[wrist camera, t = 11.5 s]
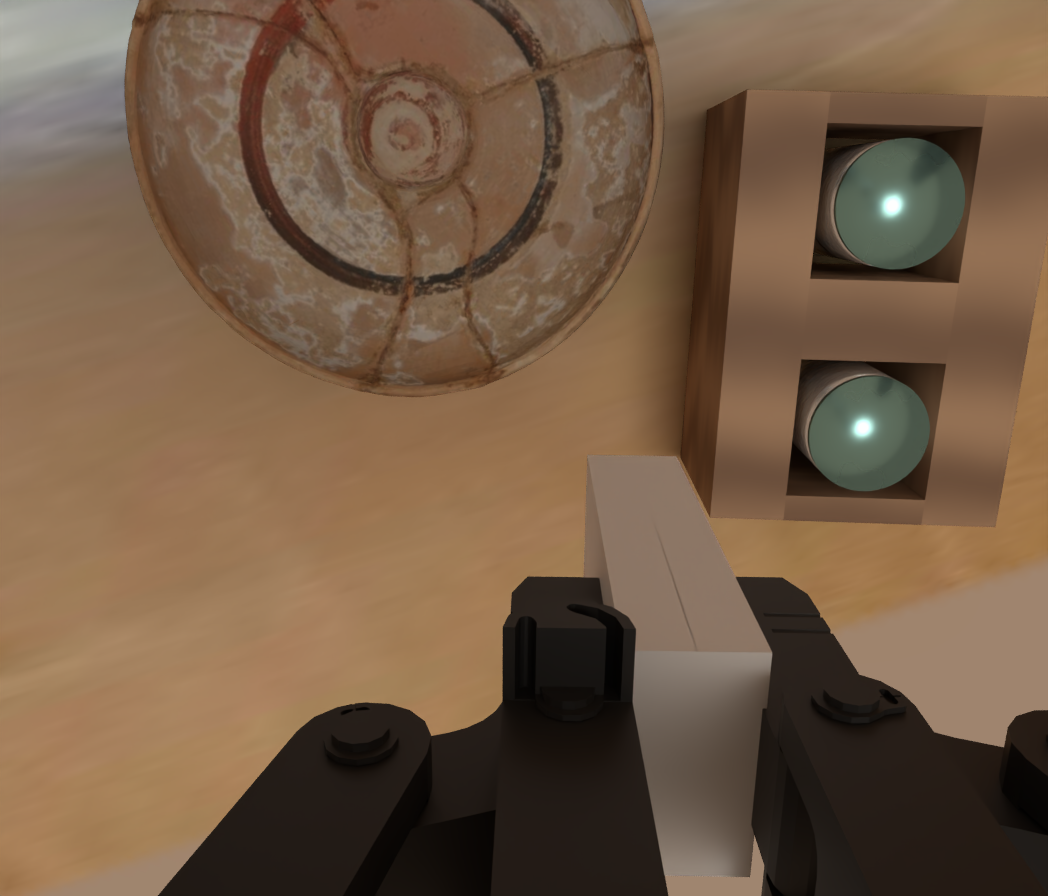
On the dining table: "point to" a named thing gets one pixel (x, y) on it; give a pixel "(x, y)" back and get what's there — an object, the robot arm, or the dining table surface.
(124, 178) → the dining table surface
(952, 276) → the walnut block
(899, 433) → the peg
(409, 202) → the ceramic bowl
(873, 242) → the peg
